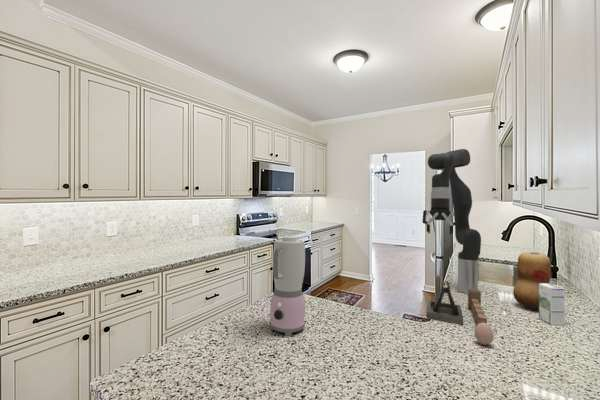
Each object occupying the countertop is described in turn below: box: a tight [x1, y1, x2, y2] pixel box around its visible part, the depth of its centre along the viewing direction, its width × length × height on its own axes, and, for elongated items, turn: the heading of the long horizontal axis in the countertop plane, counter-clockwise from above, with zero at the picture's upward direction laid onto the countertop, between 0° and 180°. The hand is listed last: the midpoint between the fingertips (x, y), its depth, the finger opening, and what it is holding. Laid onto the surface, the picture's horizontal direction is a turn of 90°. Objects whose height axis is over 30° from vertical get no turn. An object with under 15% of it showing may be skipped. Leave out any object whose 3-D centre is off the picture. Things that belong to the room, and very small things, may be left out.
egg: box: [474, 323, 494, 346], centre depth 92 cm, size 5×5×7 cm
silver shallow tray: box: [426, 299, 464, 326], centre depth 117 cm, size 15×12×3 cm
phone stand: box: [433, 280, 458, 316], centre depth 116 cm, size 9×6×12 cm, turn 65°
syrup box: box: [538, 282, 566, 326], centre depth 112 cm, size 6×6×14 cm
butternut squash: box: [512, 251, 552, 310], centre depth 127 cm, size 14×13×25 cm
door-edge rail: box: [467, 289, 488, 326], centre depth 113 cm, size 28×4×8 cm, turn 154°
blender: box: [269, 235, 306, 337], centre depth 99 cm, size 16×12×32 cm
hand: (439, 233), depth 128 cm, fingers open, 8 cm apart
